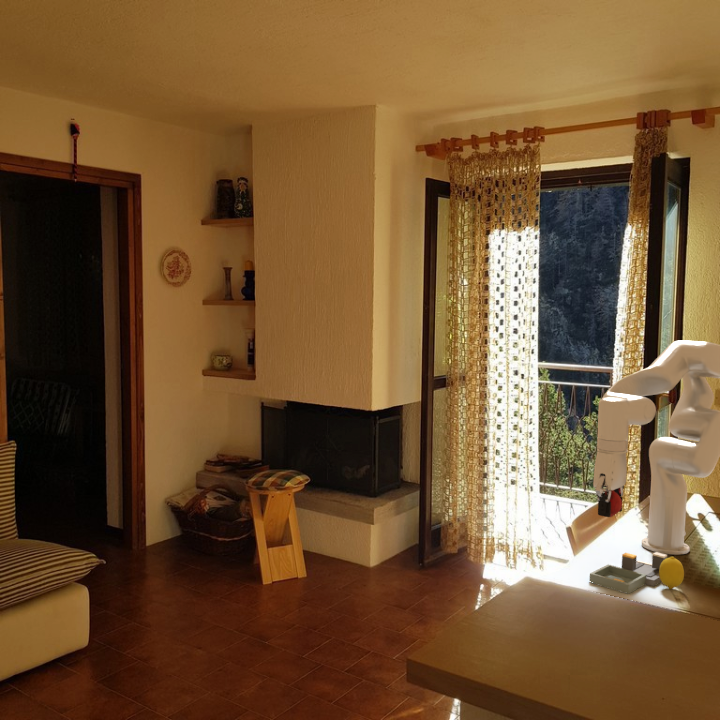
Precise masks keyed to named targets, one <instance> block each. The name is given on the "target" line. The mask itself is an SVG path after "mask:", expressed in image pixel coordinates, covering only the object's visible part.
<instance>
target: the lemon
mask: <svg viewBox="0 0 720 720" xmlns="http://www.w3.org/2000/svg"><path fill="white" fill-rule="evenodd" d="M684 570H685V569H684V566H683V564H682V562H681V561H680V560H678V559H677V558H675V557H674V556H670V557H667V558H666V559H665V560H663V561H662V563H661V565H660V569H659V576H660V580H661V581H662V585H664V586H666V587H667V588H668V590H672V589H674V588H677V587H679V586H680V585H681V584H682V583H683V581H684V577H685V571H684Z"/></svg>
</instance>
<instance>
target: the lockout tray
mask: <svg viewBox="0 0 720 720" xmlns="http://www.w3.org/2000/svg"><path fill="white" fill-rule="evenodd" d="M645 579H646V575H645V574H641V573H638V572H634V571H631V570H627V569H623V568H622V567H619V566H616V565H612V564H609V563H608V564H606V565H604V566H602V567H600V568H598V569H596V570H594V571H592V572H590V573H589V581H591V582H593V583H595V584H594V585H597V584H599V585H598V586H600V585H601V587H603V588H607V589H610V590H613V591H617V592H622V593H624V594H629V595H630V594H631V593H632V591H633V592H634V591H636V590H637V588H638V589H639V588H641V587H643V586H644V585H646V584H645ZM589 581H588V582H589ZM593 583H592V584H593Z"/></svg>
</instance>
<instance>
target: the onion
mask: <svg viewBox="0 0 720 720" xmlns="http://www.w3.org/2000/svg"><path fill="white" fill-rule="evenodd" d="M603 493H605V494H606V496H607V492H604V491H603ZM609 502H611V515H610V517H609V518H613V517H614V516H616V515H617V514H618V513H620V512H619V511H620V510H621V508H622V509H623V499H622V500H621V498H620V496H619V495H618V494H617V493H616V492H615V491H614V490H613V491H611V496H610V501H609Z"/></svg>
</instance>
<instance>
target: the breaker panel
mask: <svg viewBox="0 0 720 720" xmlns="http://www.w3.org/2000/svg"><path fill="white" fill-rule="evenodd" d="M634 572H638V573H641V574H645V575H646V579H645V585H647V586H651V587H655V586H657V585H658V584H660V583H661V582H662V581H661V580H660V576H659V569H655V568H652V563H650V562H645V561H641V560H636V570H634Z"/></svg>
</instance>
